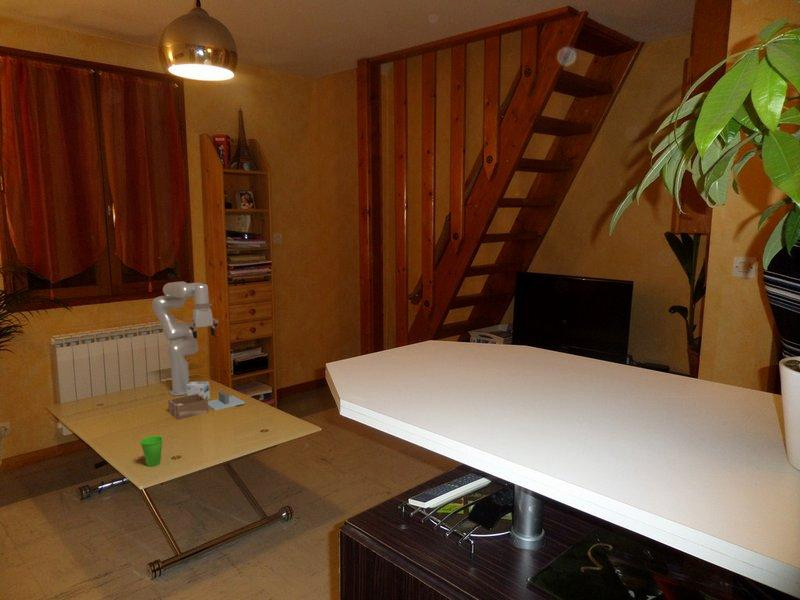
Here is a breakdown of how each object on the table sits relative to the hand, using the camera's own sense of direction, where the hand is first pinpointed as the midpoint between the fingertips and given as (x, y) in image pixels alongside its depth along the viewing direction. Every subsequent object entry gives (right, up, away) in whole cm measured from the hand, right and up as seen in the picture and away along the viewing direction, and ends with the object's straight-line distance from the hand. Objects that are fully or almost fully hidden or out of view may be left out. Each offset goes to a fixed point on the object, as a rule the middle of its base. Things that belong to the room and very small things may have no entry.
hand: (204, 336), depth 306 cm
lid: (+11, -39, +1) cm, 40 cm away
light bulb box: (-6, -38, +9) cm, 39 cm away
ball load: (-8, -40, -12) cm, 42 cm away
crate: (-4, -41, -12) cm, 43 cm away
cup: (+4, -50, -72) cm, 87 cm away
